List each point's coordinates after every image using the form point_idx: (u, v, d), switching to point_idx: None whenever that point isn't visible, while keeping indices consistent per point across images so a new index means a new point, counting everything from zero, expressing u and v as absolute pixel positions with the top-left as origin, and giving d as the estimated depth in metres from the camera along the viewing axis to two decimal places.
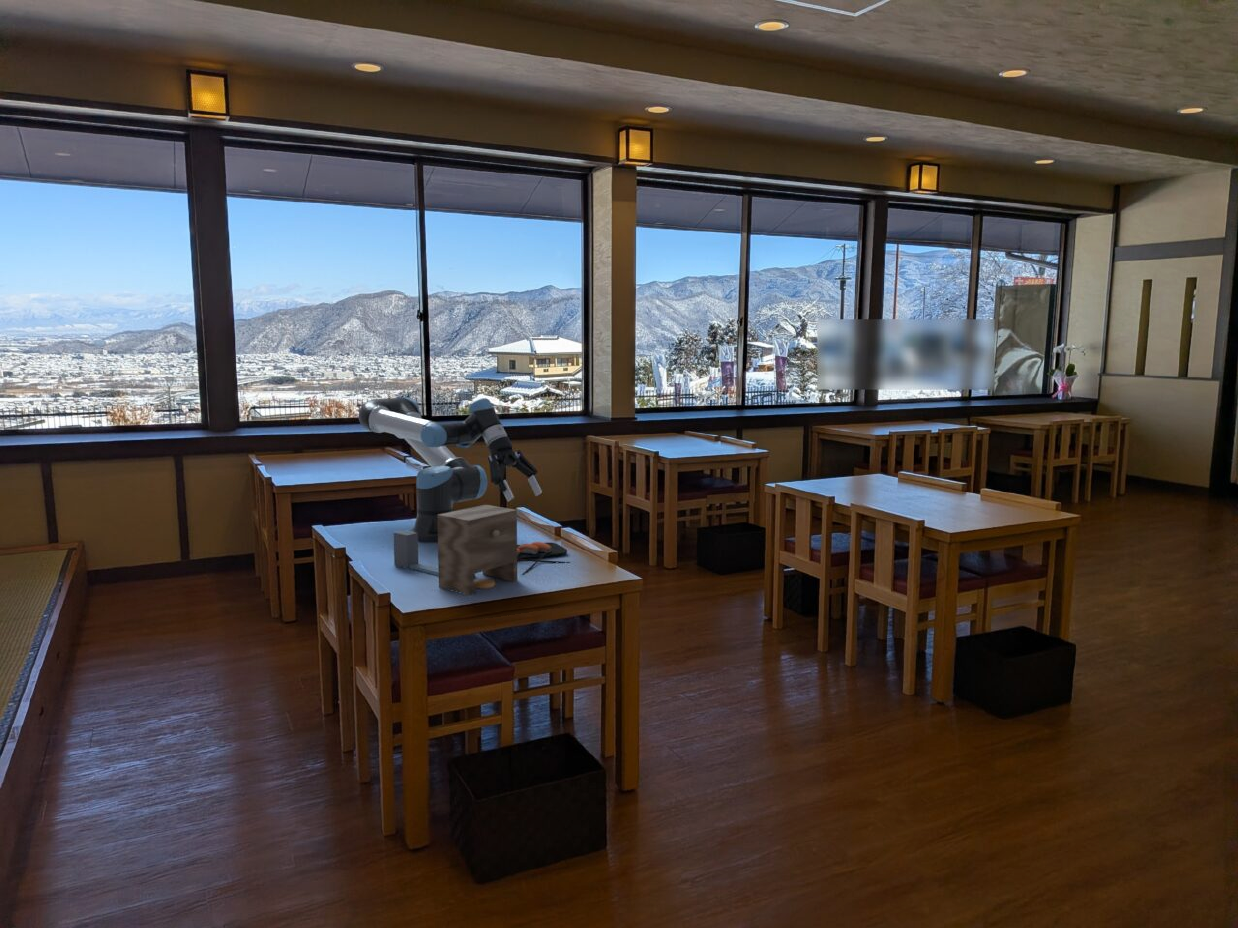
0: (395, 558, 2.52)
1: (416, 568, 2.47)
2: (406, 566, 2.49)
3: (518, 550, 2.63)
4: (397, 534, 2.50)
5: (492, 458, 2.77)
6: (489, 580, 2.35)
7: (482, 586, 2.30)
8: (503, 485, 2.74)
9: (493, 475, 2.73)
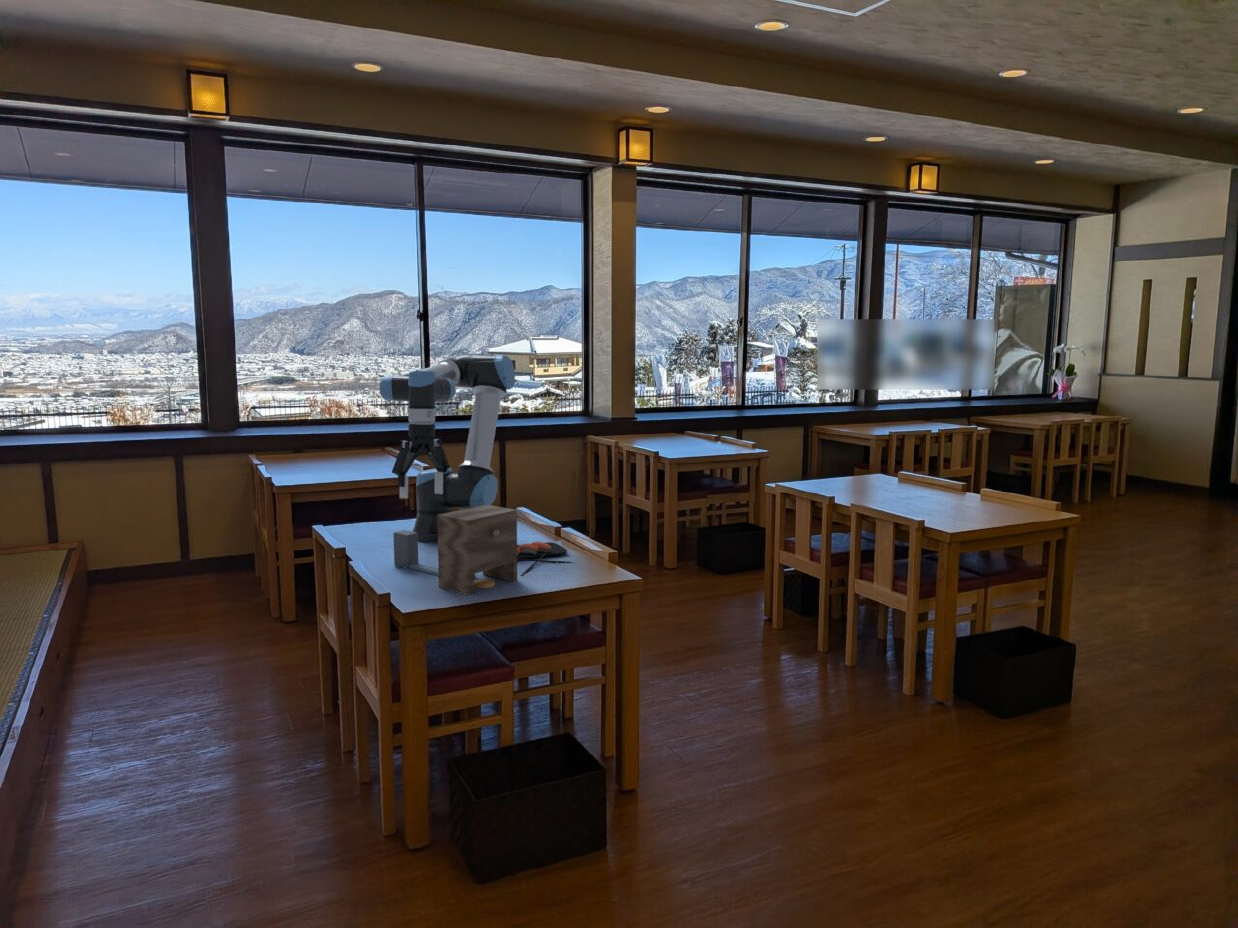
0: (395, 558, 2.52)
1: (416, 568, 2.47)
2: (406, 566, 2.49)
3: (518, 550, 2.63)
4: (397, 534, 2.50)
5: (404, 446, 2.42)
6: (489, 580, 2.35)
7: (482, 586, 2.30)
8: (402, 481, 2.42)
9: (397, 467, 2.41)
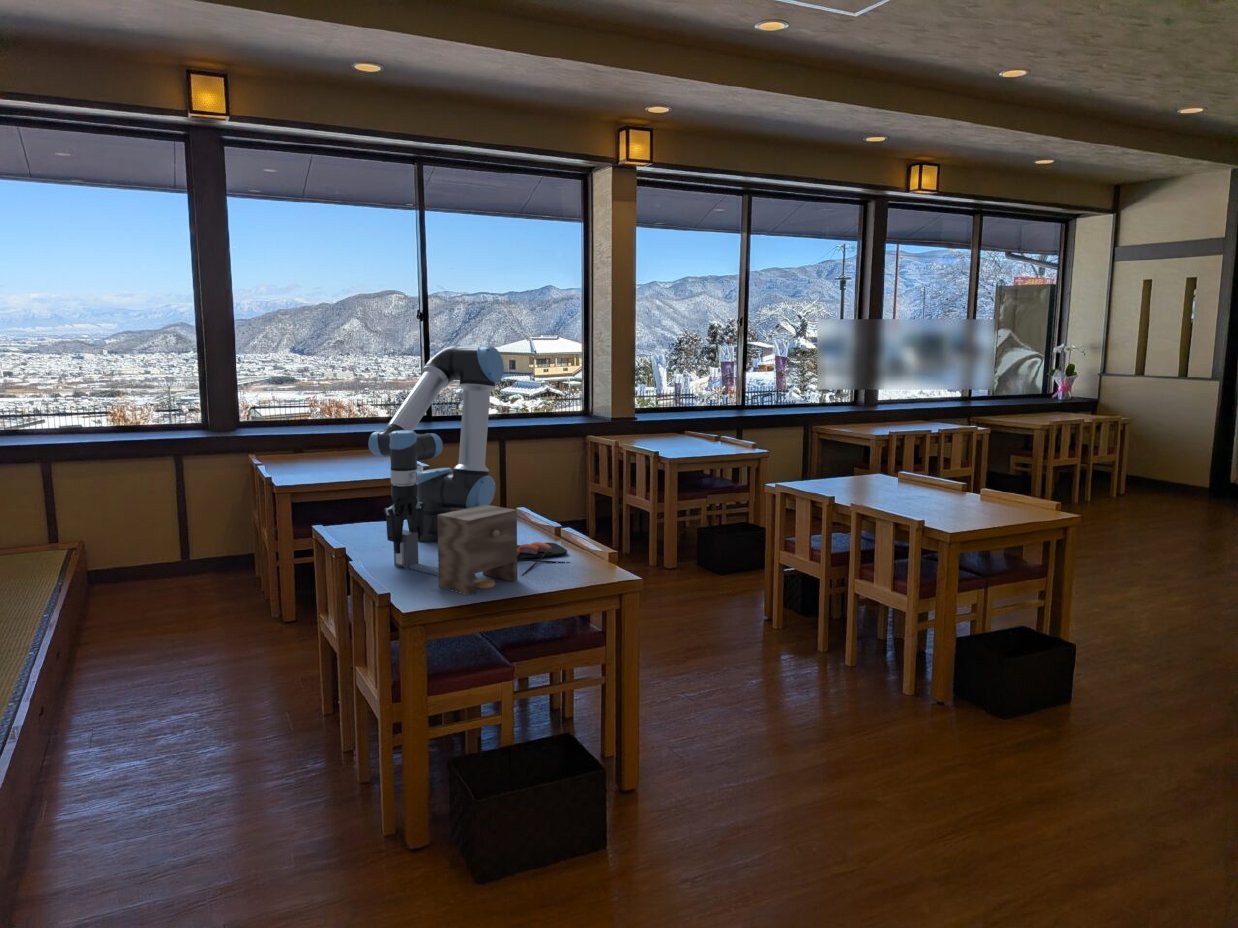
0: (395, 558, 2.51)
1: (416, 568, 2.47)
2: (406, 566, 2.49)
3: (518, 550, 2.63)
4: None
5: (389, 514, 2.44)
6: (489, 580, 2.35)
7: (482, 586, 2.30)
8: (398, 548, 2.48)
9: (390, 536, 2.46)
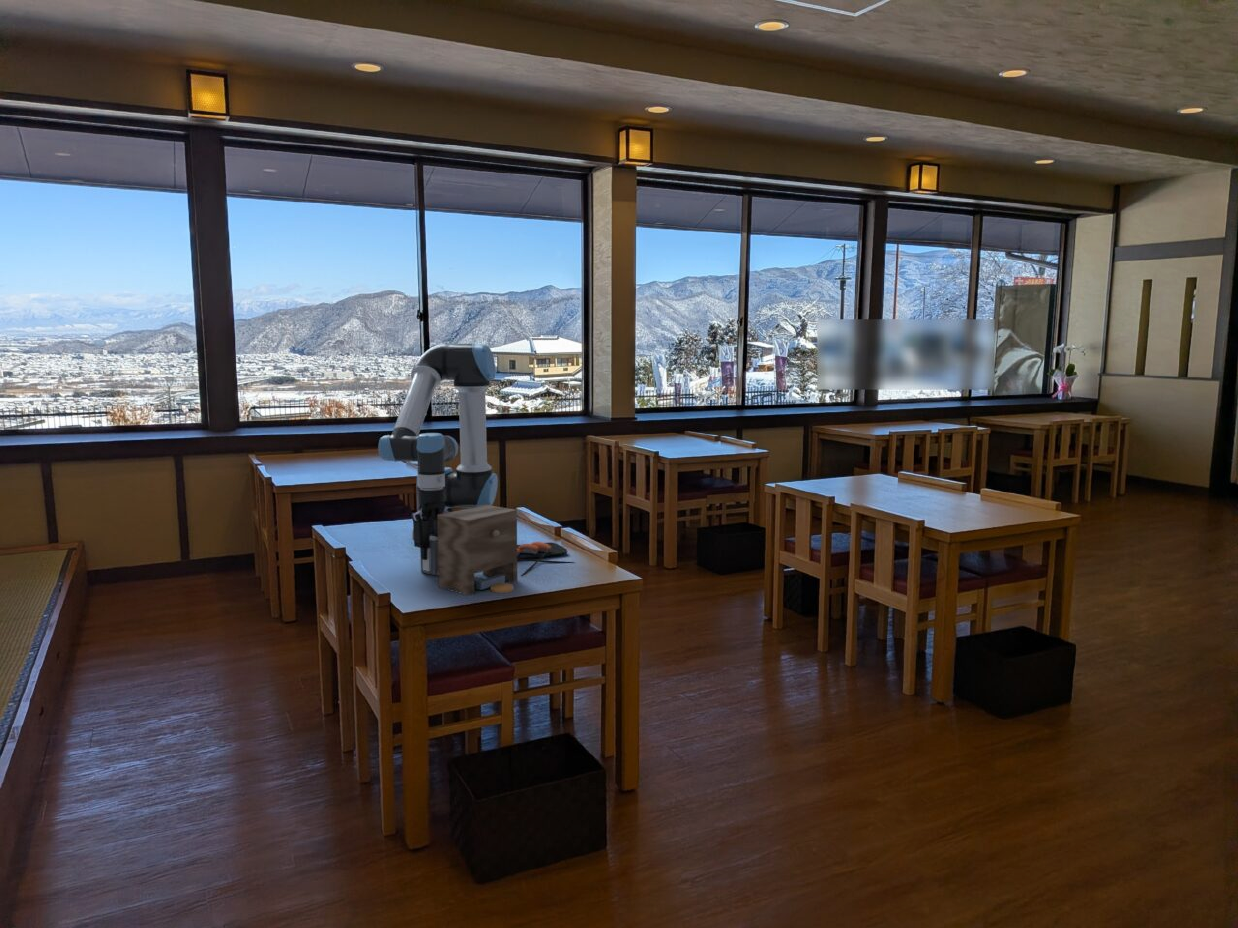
0: (421, 564, 2.44)
1: None
2: (433, 572, 2.42)
3: (518, 550, 2.63)
4: None
5: (416, 519, 2.37)
6: (507, 584, 2.31)
7: (500, 590, 2.26)
8: (425, 554, 2.41)
9: (417, 542, 2.39)
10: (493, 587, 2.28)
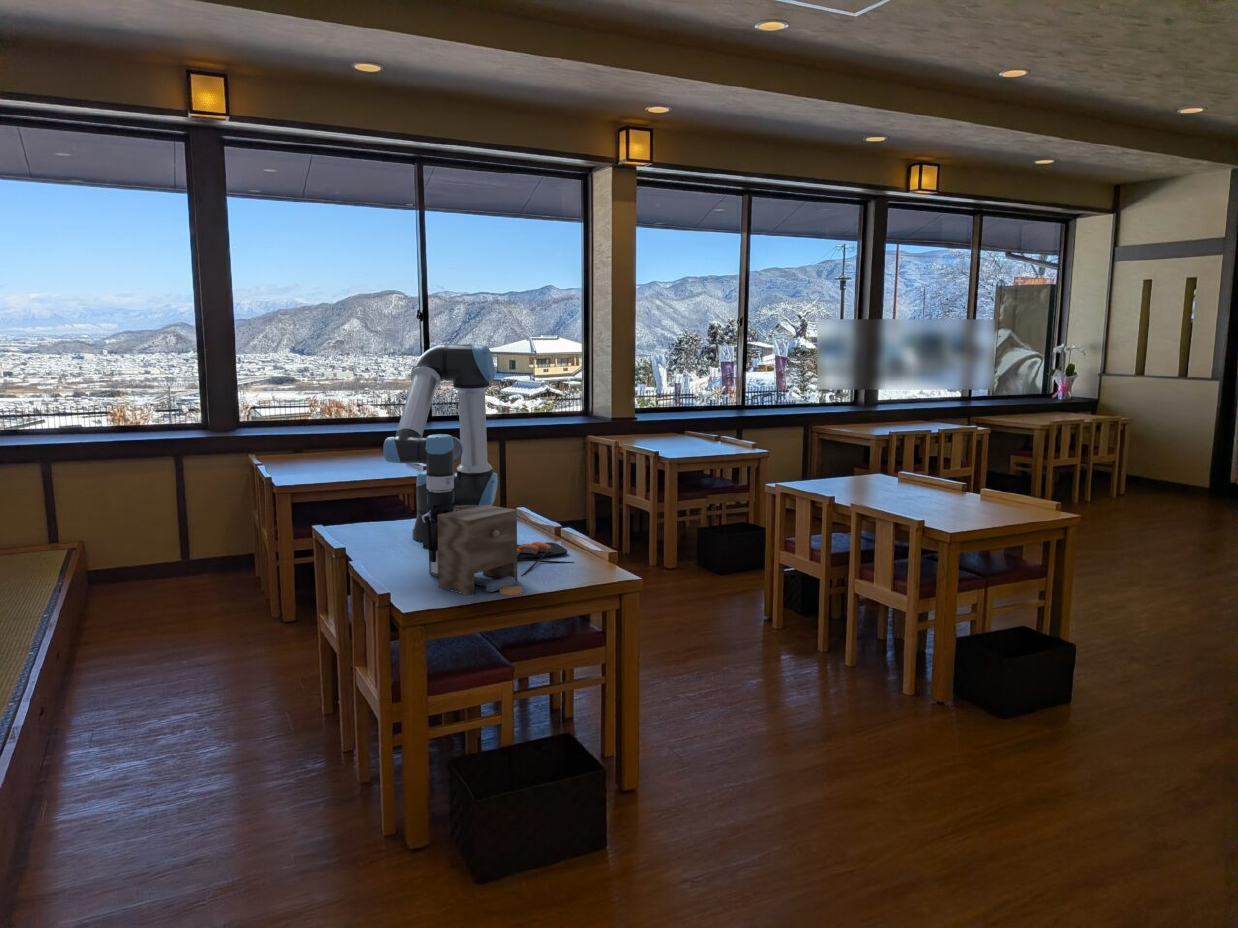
0: (430, 567, 2.42)
1: None
2: None
3: (518, 550, 2.63)
4: None
5: (425, 521, 2.35)
6: (517, 587, 2.28)
7: (509, 593, 2.24)
8: (434, 556, 2.39)
9: (426, 544, 2.37)
10: (502, 590, 2.26)
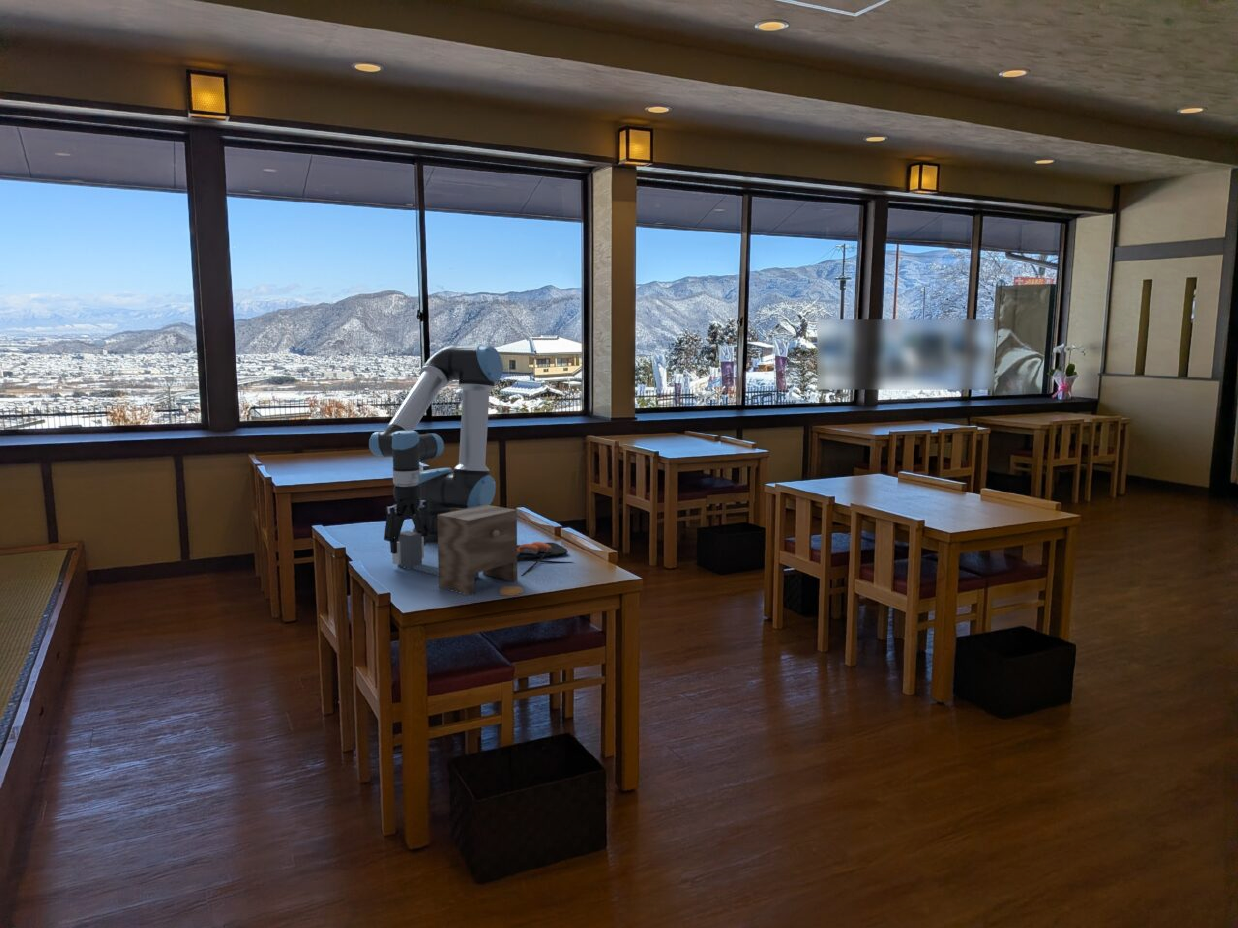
0: None
1: (419, 569, 2.46)
2: (409, 567, 2.48)
3: (518, 550, 2.63)
4: (400, 535, 2.49)
5: (390, 512, 2.43)
6: (517, 587, 2.28)
7: (509, 593, 2.24)
8: (394, 548, 2.46)
9: (387, 535, 2.44)
10: (502, 590, 2.26)
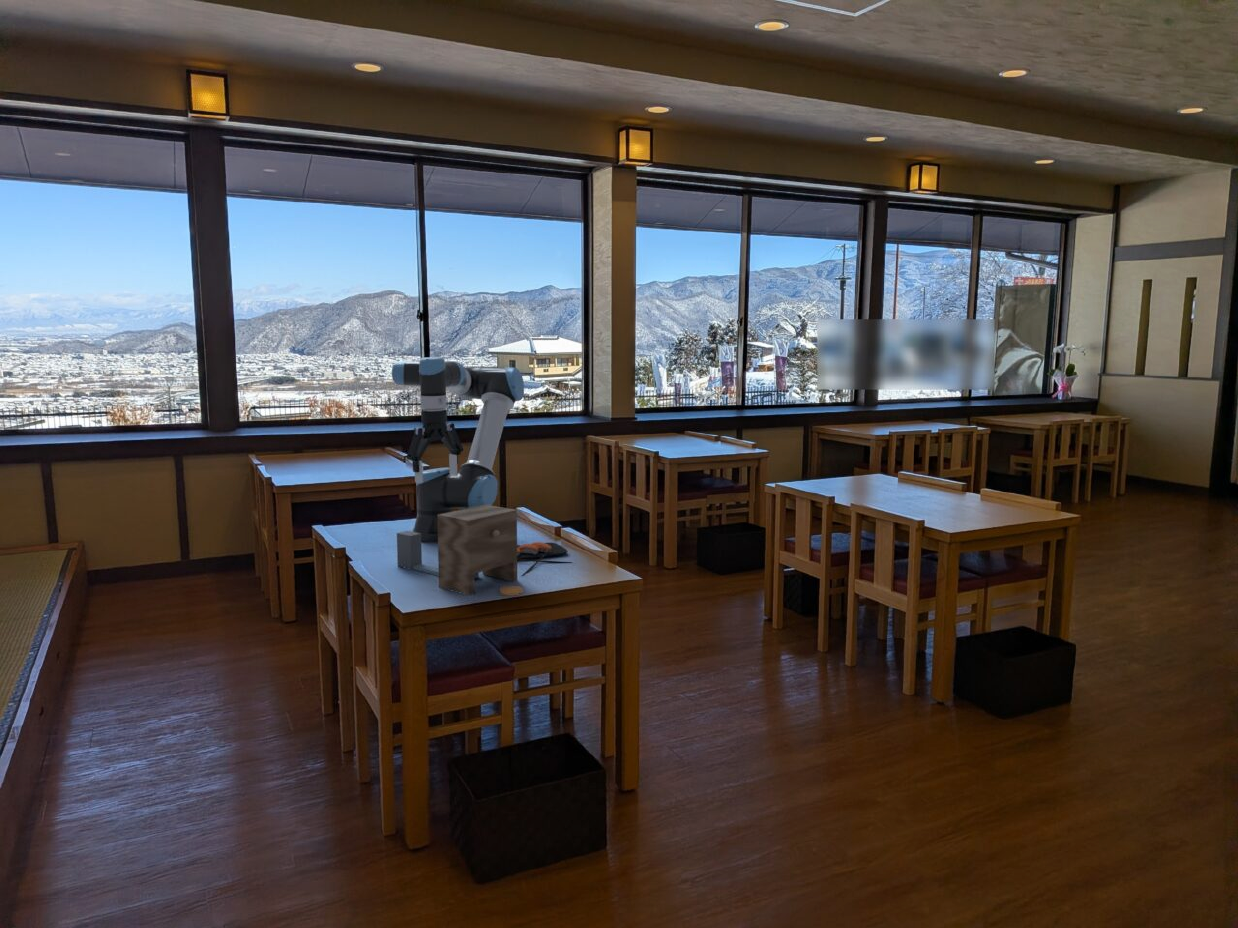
0: (398, 559, 2.51)
1: (419, 569, 2.46)
2: (409, 567, 2.48)
3: (518, 550, 2.63)
4: (400, 535, 2.49)
5: (417, 433, 2.51)
6: (517, 587, 2.28)
7: (509, 593, 2.24)
8: (417, 467, 2.52)
9: (411, 453, 2.50)
10: (502, 589, 2.26)
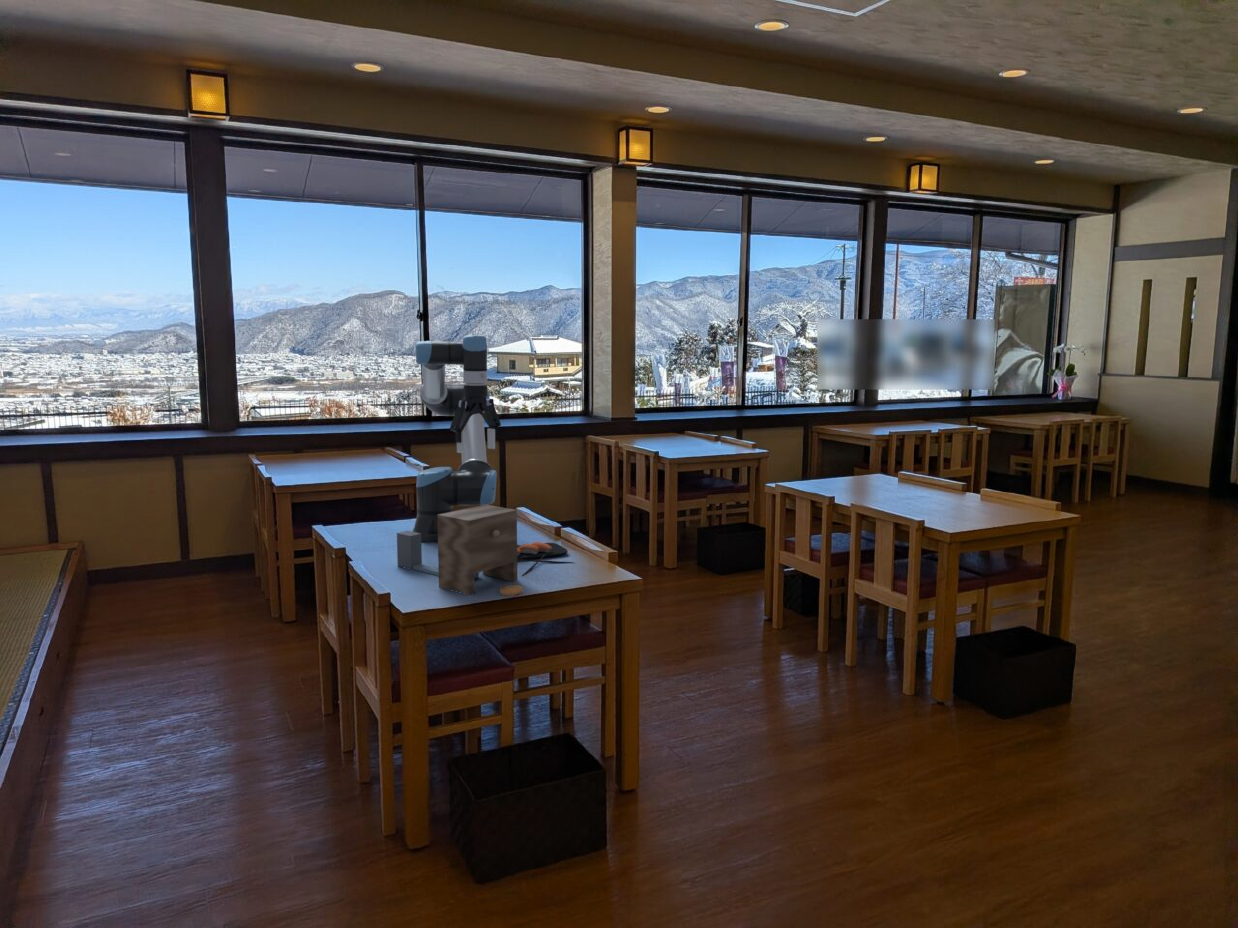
0: (398, 559, 2.51)
1: (419, 569, 2.46)
2: (409, 567, 2.48)
3: (519, 550, 2.63)
4: (400, 535, 2.49)
5: (460, 405, 2.67)
6: (514, 586, 2.29)
7: (513, 592, 2.24)
8: (459, 437, 2.67)
9: (454, 424, 2.66)
10: (503, 590, 2.25)
